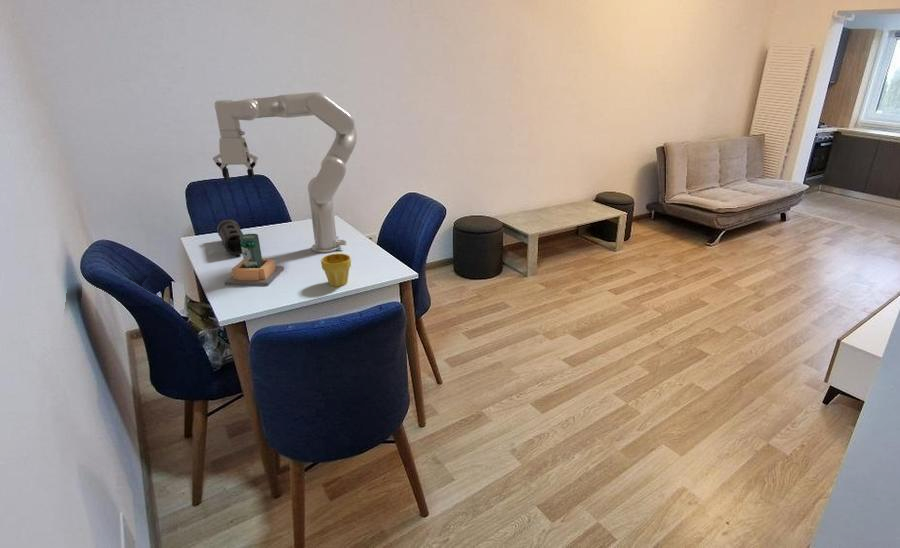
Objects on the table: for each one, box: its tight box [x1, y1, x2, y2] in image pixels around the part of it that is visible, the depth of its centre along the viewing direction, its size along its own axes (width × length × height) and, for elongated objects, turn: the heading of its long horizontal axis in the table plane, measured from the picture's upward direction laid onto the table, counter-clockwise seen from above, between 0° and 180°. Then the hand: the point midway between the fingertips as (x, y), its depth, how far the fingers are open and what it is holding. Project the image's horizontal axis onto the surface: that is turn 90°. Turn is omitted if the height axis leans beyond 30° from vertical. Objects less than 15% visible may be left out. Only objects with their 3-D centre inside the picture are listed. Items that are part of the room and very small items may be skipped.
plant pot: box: [320, 253, 352, 287], centre depth 167 cm, size 10×10×10 cm
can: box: [239, 233, 263, 268], centre depth 171 cm, size 6×6×15 cm
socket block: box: [223, 258, 285, 287], centre depth 173 cm, size 16×16×5 cm
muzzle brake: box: [216, 219, 244, 257], centre depth 203 cm, size 10×28×10 cm, turn 31°
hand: (239, 178), depth 183 cm, fingers open, 9 cm apart
